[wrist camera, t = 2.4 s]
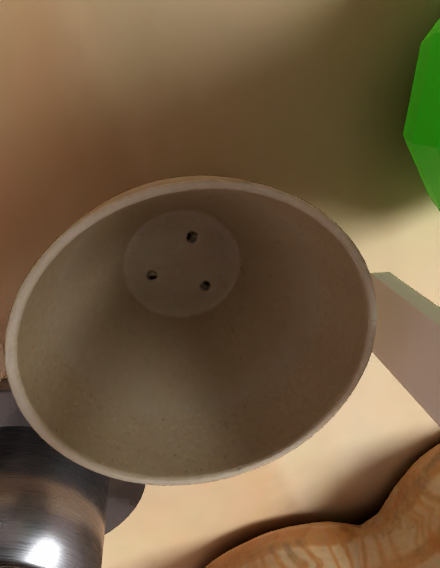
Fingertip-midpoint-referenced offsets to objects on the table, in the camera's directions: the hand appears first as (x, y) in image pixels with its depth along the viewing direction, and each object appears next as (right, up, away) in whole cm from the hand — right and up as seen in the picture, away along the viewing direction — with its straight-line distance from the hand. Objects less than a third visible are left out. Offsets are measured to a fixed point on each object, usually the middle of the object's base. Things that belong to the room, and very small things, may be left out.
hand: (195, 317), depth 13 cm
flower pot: (-1, +2, +3) cm, 4 cm away
